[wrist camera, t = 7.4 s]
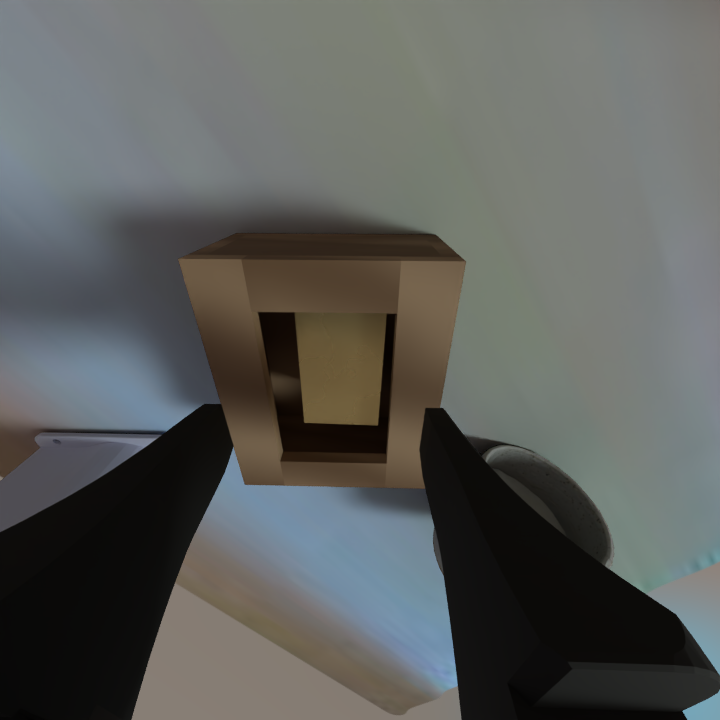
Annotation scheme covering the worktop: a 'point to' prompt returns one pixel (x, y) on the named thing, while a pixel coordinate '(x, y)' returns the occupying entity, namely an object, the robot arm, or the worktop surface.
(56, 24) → the worktop surface
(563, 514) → the ceramic mug
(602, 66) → the worktop surface
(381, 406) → the walnut box
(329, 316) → the yellow rectangular block
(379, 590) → the worktop surface
